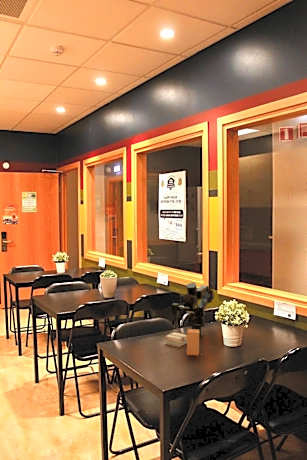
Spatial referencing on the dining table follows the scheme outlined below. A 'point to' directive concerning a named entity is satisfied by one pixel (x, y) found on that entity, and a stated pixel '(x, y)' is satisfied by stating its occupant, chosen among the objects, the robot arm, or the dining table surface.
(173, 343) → the tower base slab
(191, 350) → the orange pillar block
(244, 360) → the dining table surface
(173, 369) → the dining table surface
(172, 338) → the tower top slab
